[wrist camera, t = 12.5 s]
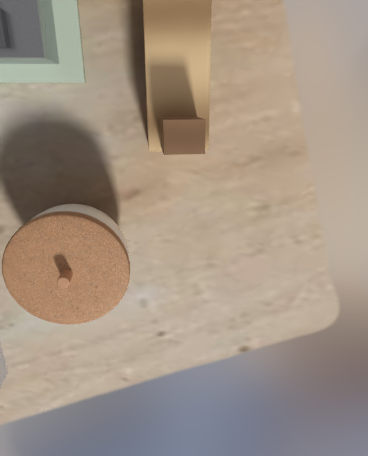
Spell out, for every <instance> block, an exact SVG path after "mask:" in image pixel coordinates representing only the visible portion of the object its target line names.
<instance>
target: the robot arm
mask: <svg viewBox="0 0 368 456" xmlns="http://www.w3.org/2000/svg"><path fill="white" fill-rule="evenodd" d="M7 373H8V370H7V366H6V363H5V359H4V355H3V352H2V348H1V344H0V387H1V385H2V383H3V381H4V379H5V377H6V375H7Z"/></svg>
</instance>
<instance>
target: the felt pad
mask: <svg viewBox="0 0 368 456" xmlns="http://www.w3.org/2000/svg"><path fill="white" fill-rule="evenodd" d="M52 7H53V16H54V24H55V32H56V41H57V49H58V57H59V64H0V83H85V73H84V62H83V52H82V42H81V31H80V21H79V11H78V1H77V0H52Z"/></svg>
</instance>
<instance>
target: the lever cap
mask: <svg viewBox="0 0 368 456" xmlns="http://www.w3.org/2000/svg"><path fill="white" fill-rule="evenodd" d="M0 64H59V57H58V49H57V41H56V32H55V24H54V16H53V7H52V0H0Z"/></svg>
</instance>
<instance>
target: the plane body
mask: <svg viewBox="0 0 368 456" xmlns="http://www.w3.org/2000/svg"><path fill="white" fill-rule="evenodd" d="M211 3H212V0H142V7H143V32H144V57H145V81H146V106H147V131H148V146H149V151H163V153H164V155H170V154H205V150H209V102H210V53H211Z"/></svg>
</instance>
